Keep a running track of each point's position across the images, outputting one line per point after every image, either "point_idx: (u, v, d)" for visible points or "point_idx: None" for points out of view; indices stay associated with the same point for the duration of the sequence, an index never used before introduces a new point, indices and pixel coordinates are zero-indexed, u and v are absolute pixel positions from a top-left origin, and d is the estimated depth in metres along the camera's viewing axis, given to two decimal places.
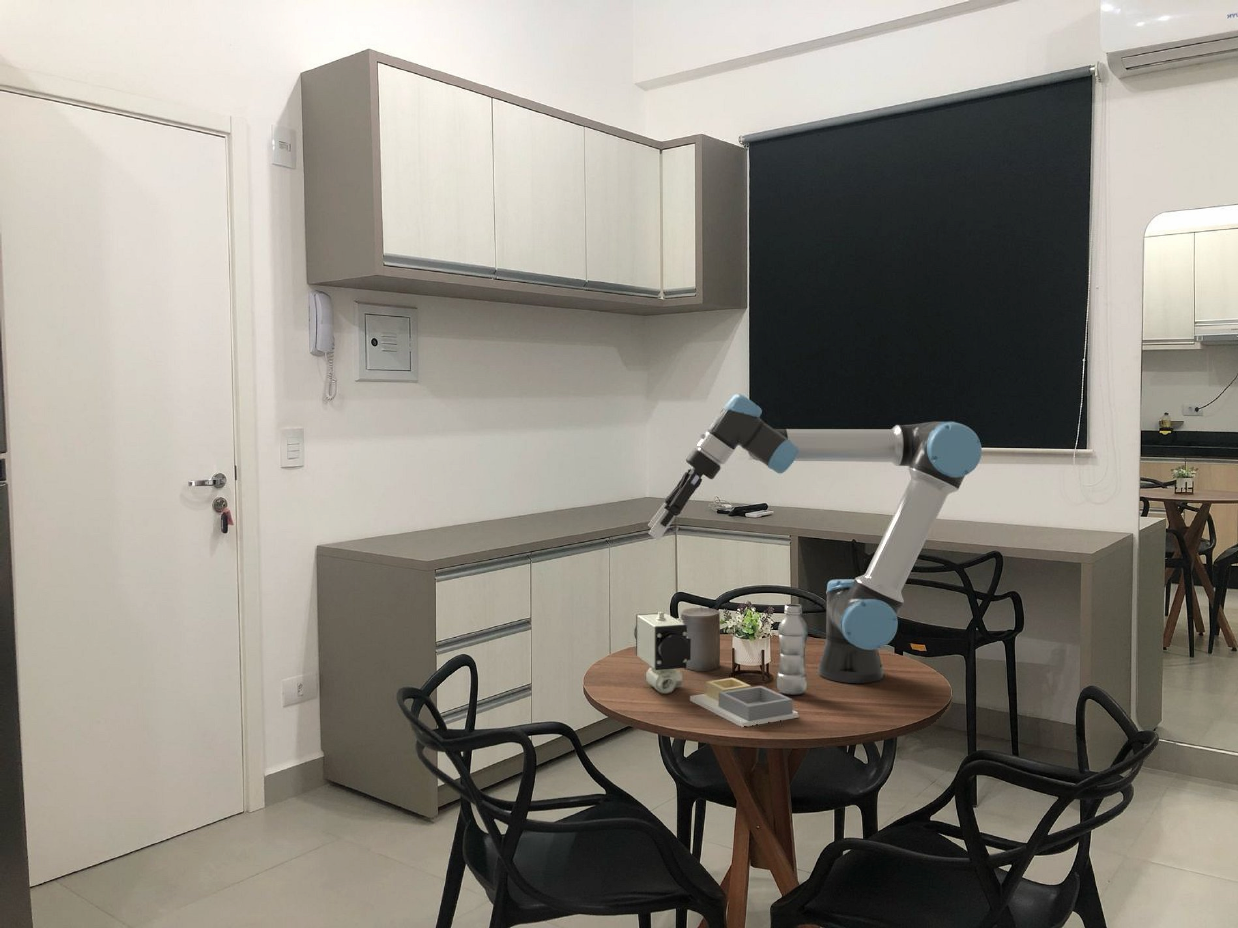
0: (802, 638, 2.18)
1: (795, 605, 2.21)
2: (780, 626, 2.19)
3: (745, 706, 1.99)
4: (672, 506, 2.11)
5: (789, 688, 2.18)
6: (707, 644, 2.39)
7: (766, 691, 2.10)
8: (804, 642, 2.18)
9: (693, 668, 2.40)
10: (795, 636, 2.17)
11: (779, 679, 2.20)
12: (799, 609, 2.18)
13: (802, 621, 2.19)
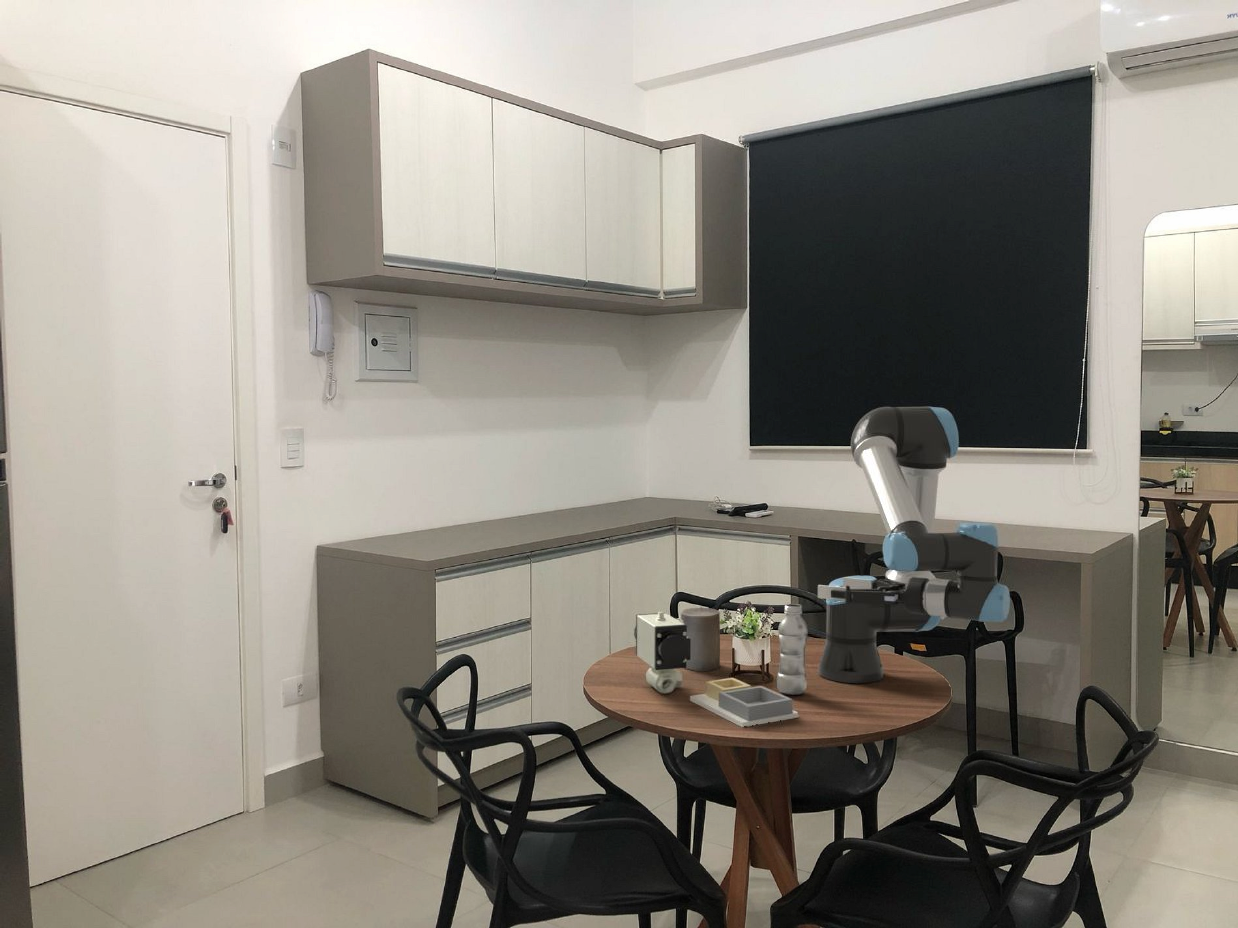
0: (802, 638, 2.18)
1: (795, 605, 2.21)
2: (780, 626, 2.19)
3: (745, 706, 1.99)
4: None
5: (789, 688, 2.18)
6: (707, 644, 2.39)
7: (766, 691, 2.10)
8: (804, 642, 2.18)
9: (693, 668, 2.40)
10: (795, 636, 2.17)
11: (779, 679, 2.20)
12: (799, 609, 2.18)
13: (802, 621, 2.19)
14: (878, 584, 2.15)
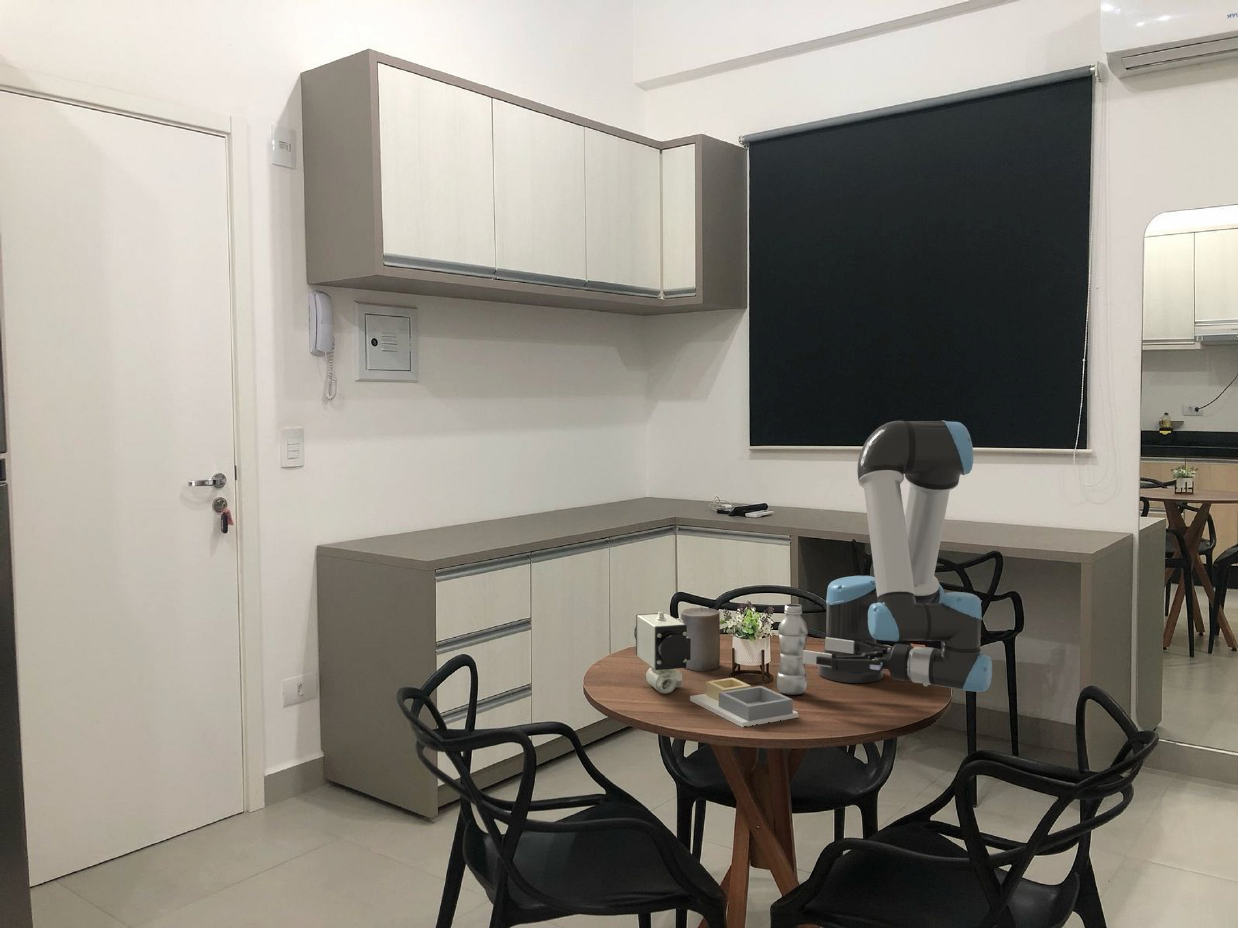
0: (802, 638, 2.18)
1: (795, 605, 2.21)
2: (780, 626, 2.19)
3: (745, 706, 1.99)
4: None
5: (789, 688, 2.18)
6: (707, 644, 2.39)
7: (766, 691, 2.10)
8: (804, 642, 2.18)
9: (693, 668, 2.40)
10: (795, 636, 2.17)
11: (779, 679, 2.20)
12: (799, 609, 2.18)
13: (802, 621, 2.19)
14: (860, 646, 2.17)
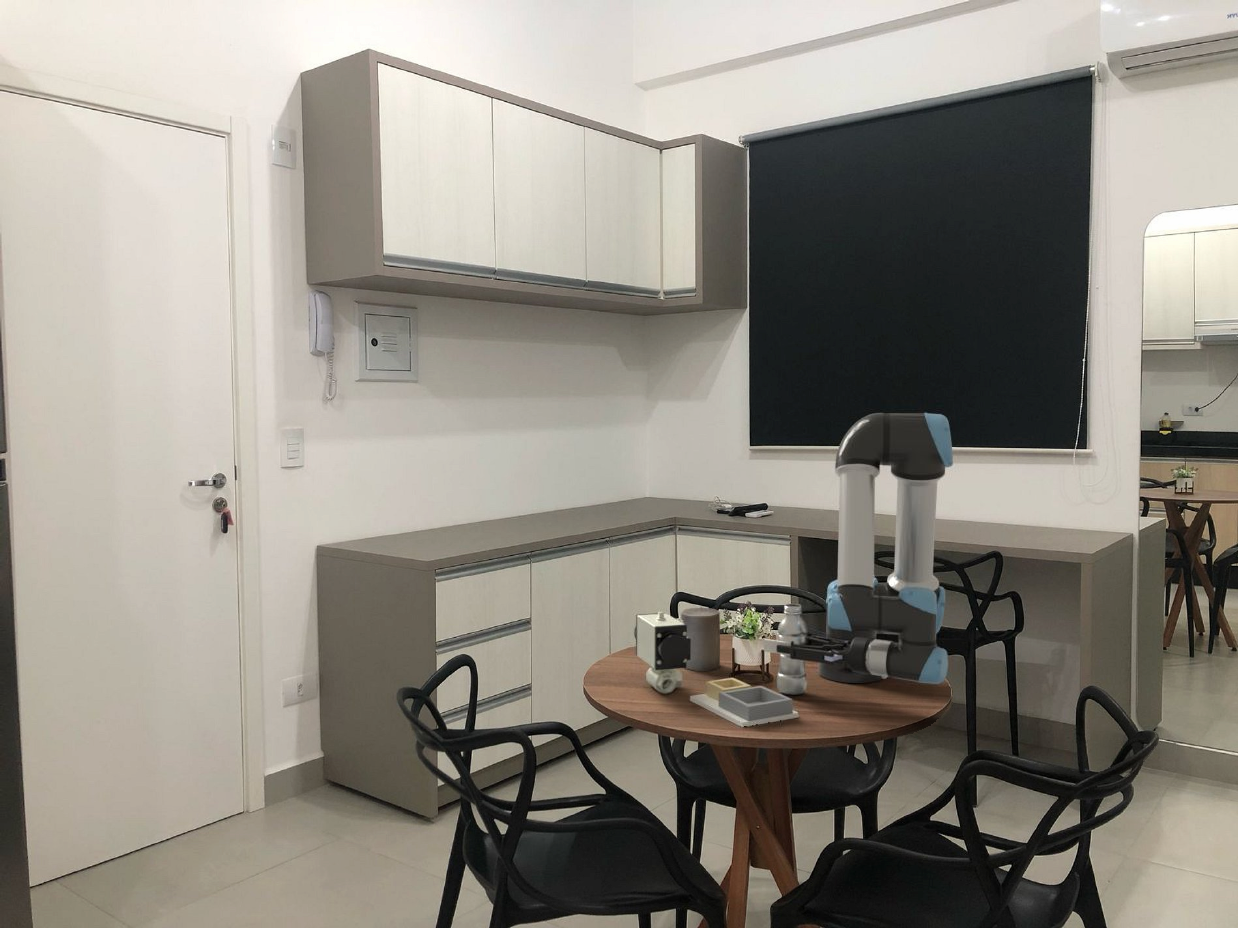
0: (802, 638, 2.18)
1: (795, 605, 2.21)
2: (780, 626, 2.19)
3: (745, 706, 1.99)
4: None
5: (789, 688, 2.18)
6: (707, 644, 2.39)
7: (766, 691, 2.10)
8: (804, 642, 2.18)
9: (693, 668, 2.40)
10: (795, 636, 2.17)
11: (779, 679, 2.20)
12: (799, 609, 2.18)
13: (802, 621, 2.18)
14: (813, 641, 2.21)
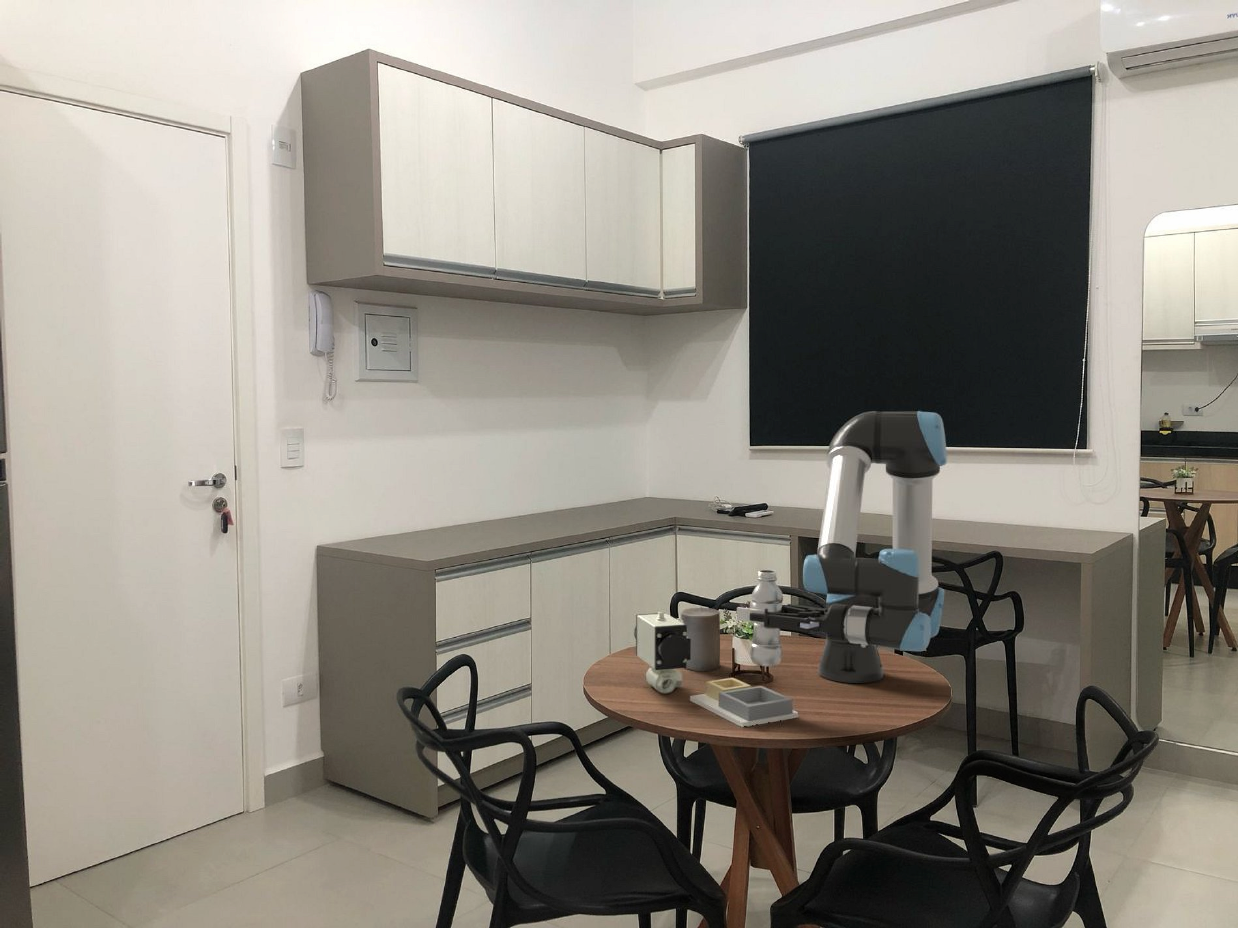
0: (777, 606, 2.05)
1: (769, 571, 2.08)
2: (753, 593, 2.06)
3: (745, 706, 1.99)
4: None
5: (763, 659, 2.05)
6: (707, 644, 2.39)
7: (766, 691, 2.10)
8: (779, 610, 2.05)
9: (693, 668, 2.40)
10: (769, 604, 2.04)
11: (753, 650, 2.06)
12: (773, 575, 2.05)
13: (777, 588, 2.06)
14: (788, 610, 2.08)
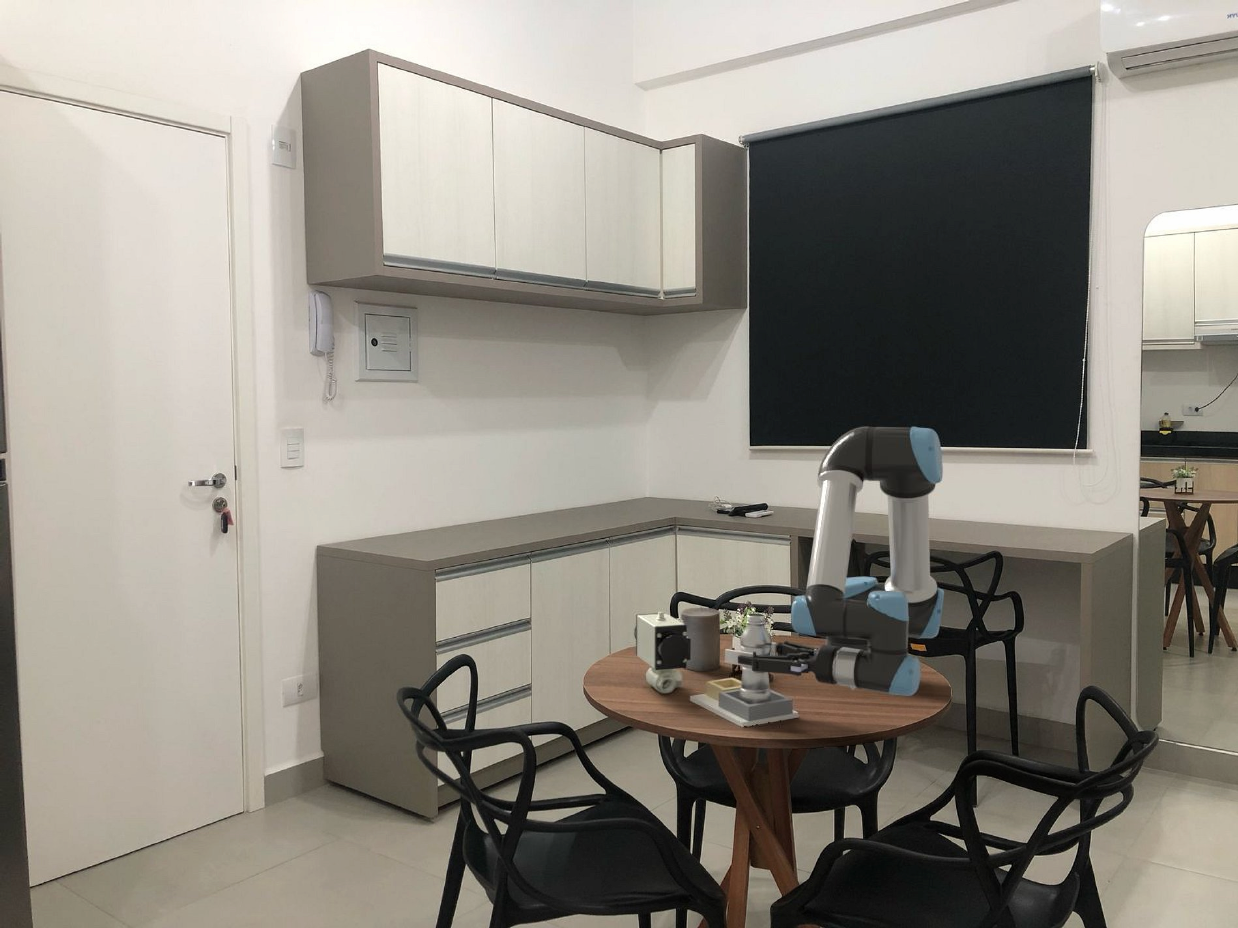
0: (765, 650, 2.03)
1: (758, 615, 2.06)
2: (742, 637, 2.04)
3: (745, 706, 1.99)
4: None
5: None
6: (707, 644, 2.39)
7: None
8: (767, 654, 2.03)
9: (693, 668, 2.40)
10: (757, 648, 2.02)
11: (741, 694, 2.05)
12: (762, 619, 2.04)
13: (765, 632, 2.04)
14: (783, 648, 2.07)
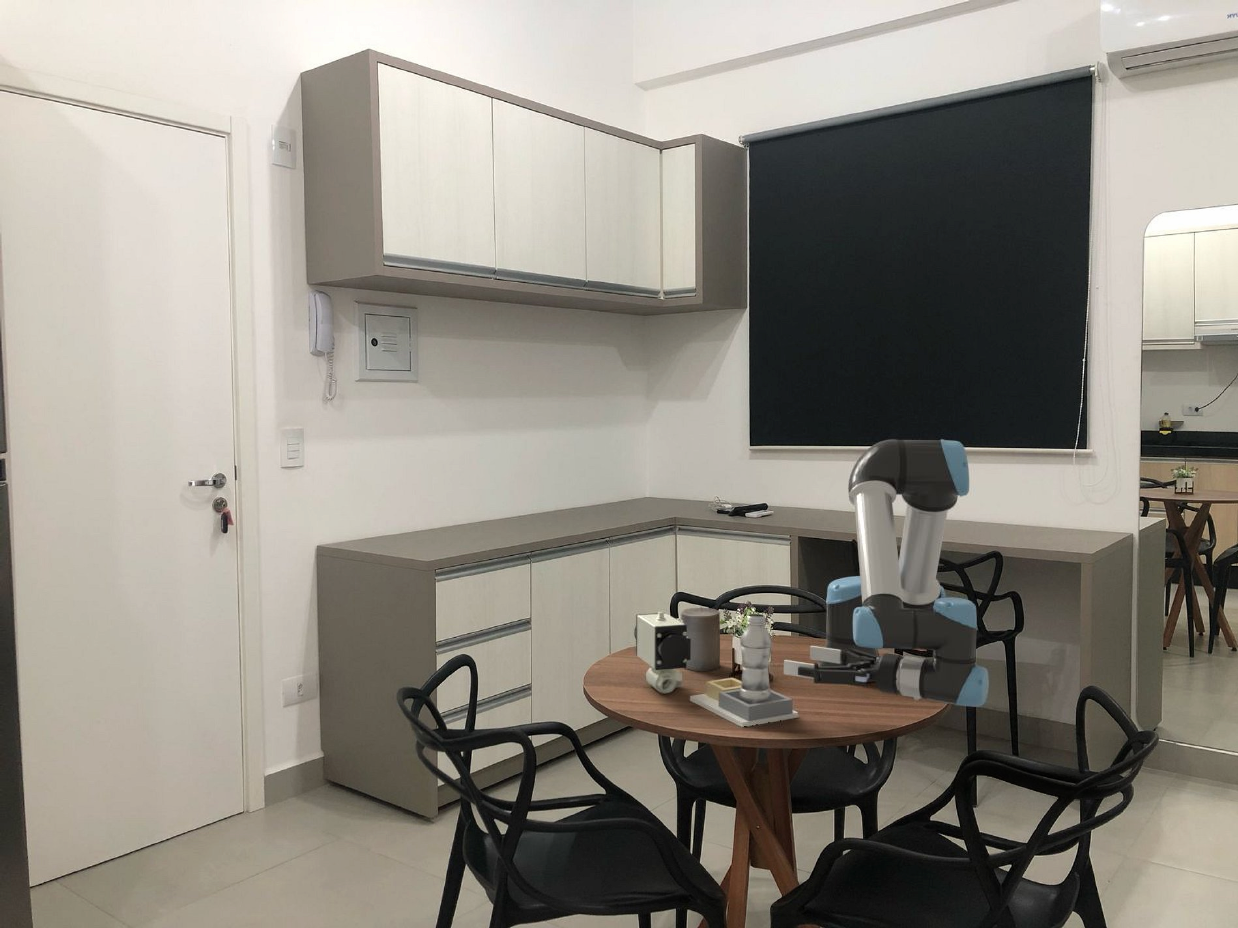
0: (765, 651, 2.02)
1: (759, 615, 2.06)
2: (742, 638, 2.04)
3: (745, 706, 1.99)
4: None
5: None
6: (707, 644, 2.39)
7: None
8: (768, 655, 2.03)
9: (693, 668, 2.40)
10: (757, 649, 2.02)
11: (741, 694, 2.04)
12: (762, 619, 2.03)
13: (766, 632, 2.03)
14: (847, 655, 2.01)
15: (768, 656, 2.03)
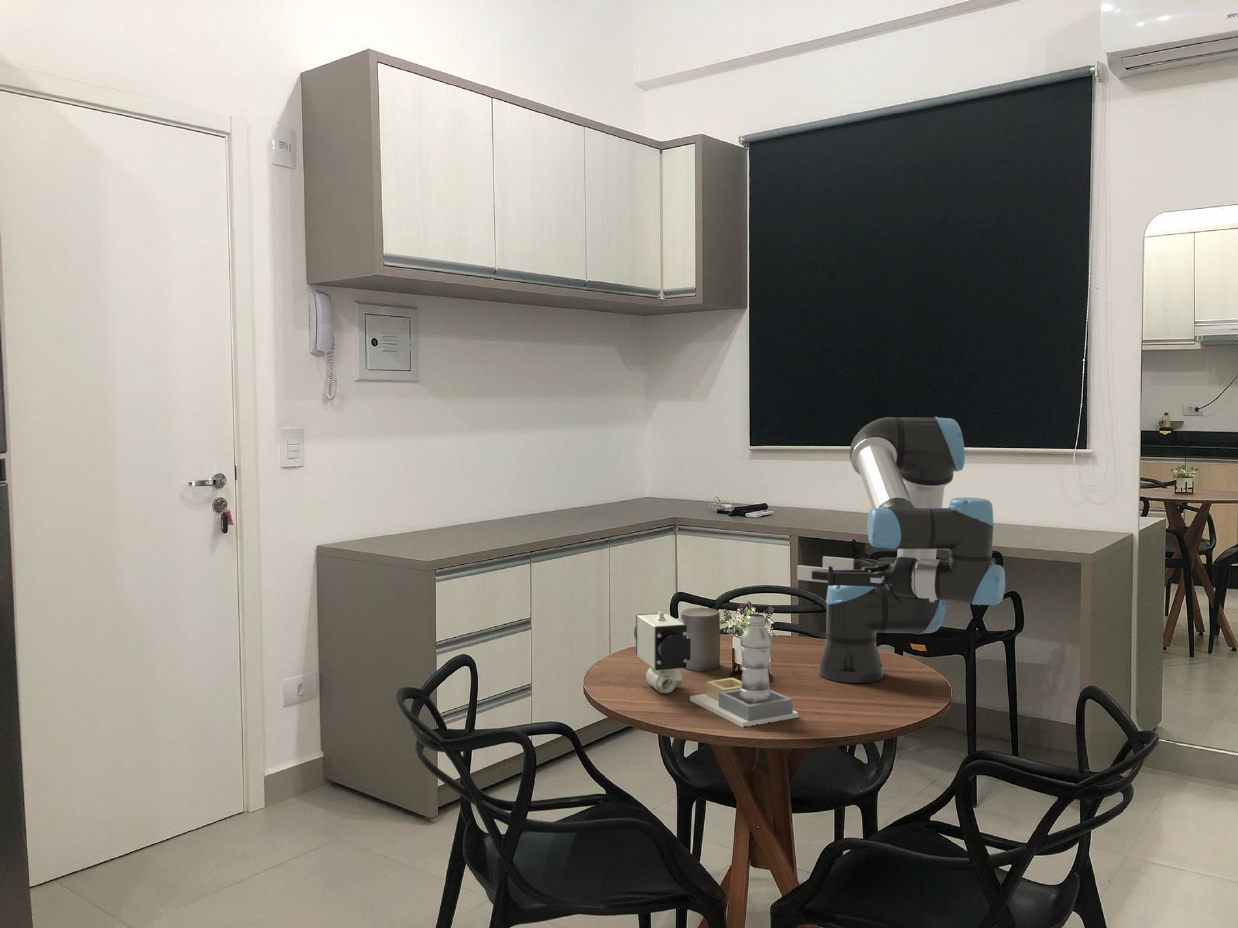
0: (765, 651, 2.02)
1: (759, 615, 2.06)
2: (742, 638, 2.04)
3: (745, 706, 1.99)
4: None
5: None
6: (707, 644, 2.39)
7: None
8: (768, 655, 2.03)
9: (693, 668, 2.40)
10: (757, 649, 2.02)
11: (741, 695, 2.04)
12: (762, 619, 2.03)
13: (765, 632, 2.03)
14: (861, 564, 1.99)
15: (768, 656, 2.03)
